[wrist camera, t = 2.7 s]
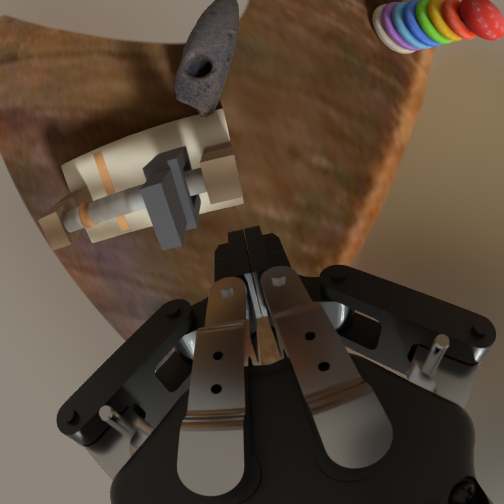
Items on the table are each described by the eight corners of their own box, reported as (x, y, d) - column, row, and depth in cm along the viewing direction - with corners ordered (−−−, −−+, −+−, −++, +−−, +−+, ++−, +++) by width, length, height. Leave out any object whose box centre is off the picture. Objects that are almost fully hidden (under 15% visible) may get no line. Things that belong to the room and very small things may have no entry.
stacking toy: (394, 63, 26) (504, 66, 10) (358, 17, 22) (460, -16, 6) (423, 42, 23) (524, 43, 7) (391, -2, 20) (487, -26, 4)
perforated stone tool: (209, -1, 20) (207, -23, 14) (252, 9, 21) (261, -12, 16) (171, 108, 27) (158, 110, 21) (214, 117, 29) (213, 121, 23)
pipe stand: (65, 163, 28) (24, 187, 20) (222, 108, 28) (224, 110, 20) (95, 239, 34) (68, 278, 26) (243, 200, 34) (251, 235, 26)
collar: (158, 153, 25) (127, 183, 17) (185, 145, 25) (167, 170, 17) (175, 208, 29) (157, 260, 20) (201, 201, 29) (193, 251, 20)
